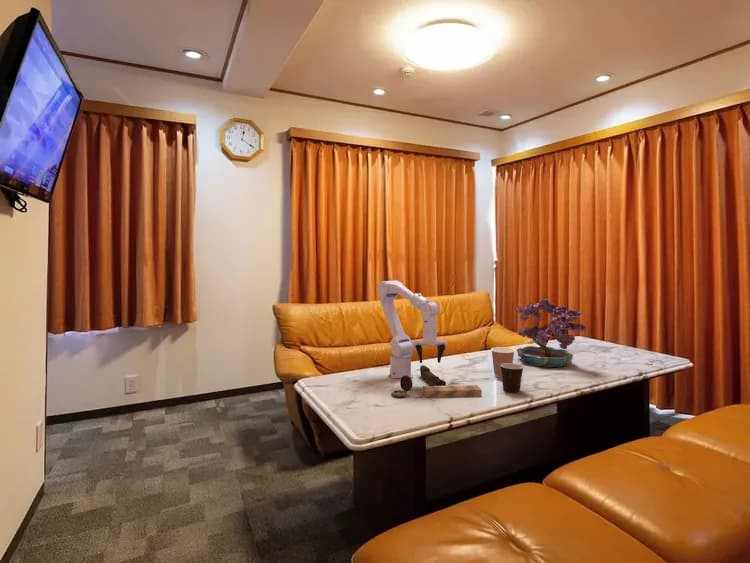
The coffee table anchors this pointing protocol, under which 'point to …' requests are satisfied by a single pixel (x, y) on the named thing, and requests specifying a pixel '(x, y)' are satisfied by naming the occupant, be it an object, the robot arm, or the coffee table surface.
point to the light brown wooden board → (452, 391)
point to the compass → (403, 387)
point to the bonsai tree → (548, 334)
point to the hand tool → (431, 377)
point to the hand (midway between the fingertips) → (429, 362)
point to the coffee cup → (501, 358)
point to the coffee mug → (511, 377)
